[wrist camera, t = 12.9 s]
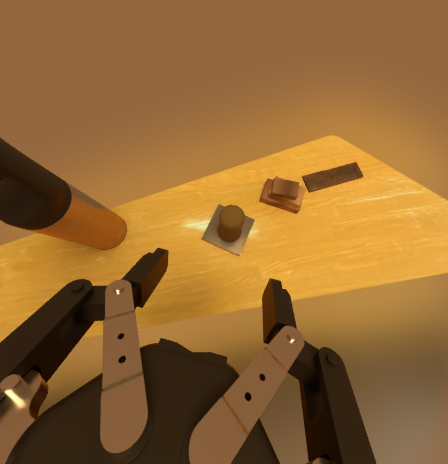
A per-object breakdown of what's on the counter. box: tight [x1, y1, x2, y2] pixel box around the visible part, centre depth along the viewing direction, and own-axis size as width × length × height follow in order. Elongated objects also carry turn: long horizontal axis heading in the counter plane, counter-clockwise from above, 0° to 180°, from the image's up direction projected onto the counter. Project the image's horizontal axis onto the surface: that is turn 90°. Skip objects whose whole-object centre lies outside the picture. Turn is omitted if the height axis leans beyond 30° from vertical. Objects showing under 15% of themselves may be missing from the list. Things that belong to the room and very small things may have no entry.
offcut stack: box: [260, 176, 306, 213], centre depth 46 cm, size 10×6×5 cm, turn 70°
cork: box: [217, 205, 245, 242], centre depth 40 cm, size 6×6×11 cm
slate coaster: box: [202, 205, 254, 256], centre depth 45 cm, size 10×10×1 cm
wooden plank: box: [302, 162, 363, 192], centre depth 50 cm, size 17×1×5 cm
